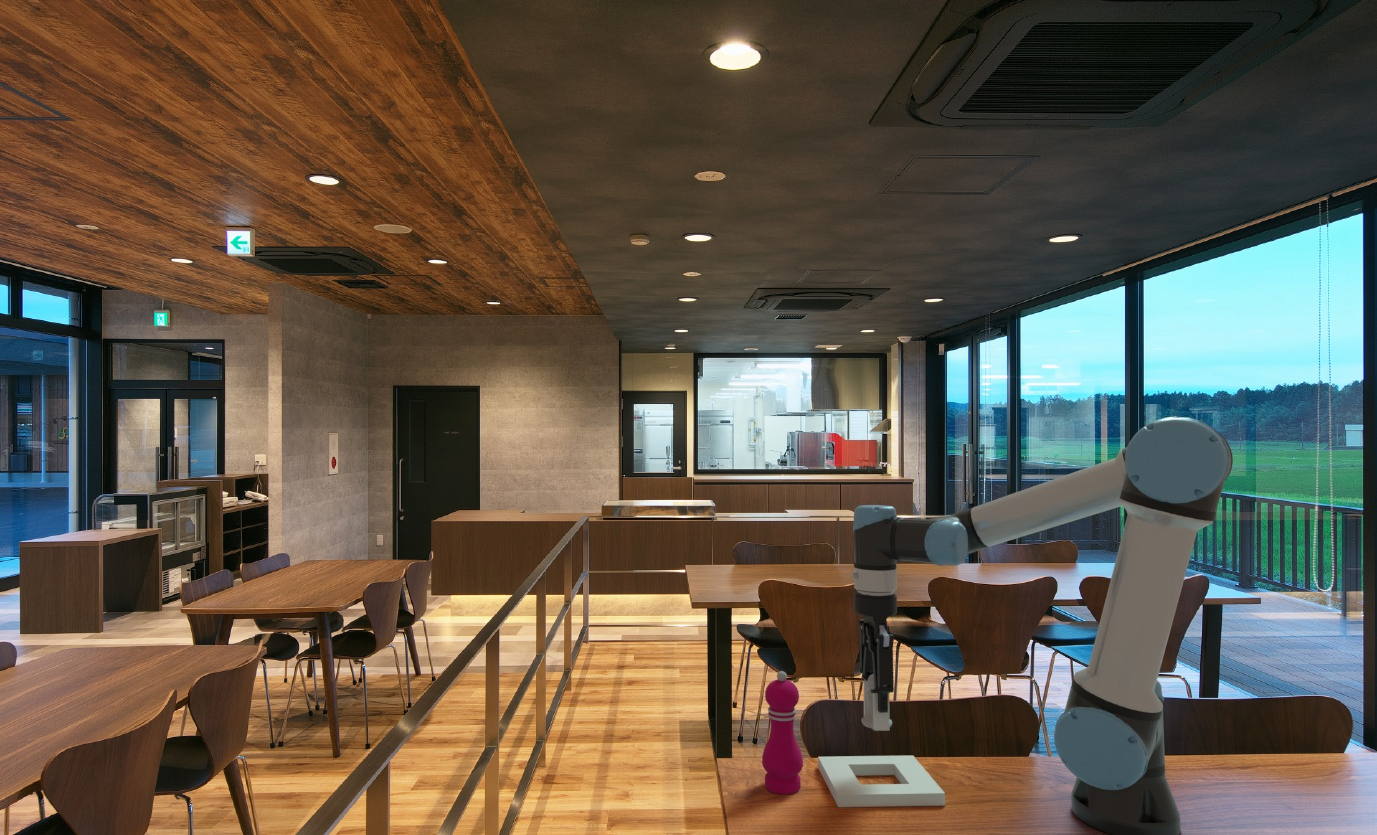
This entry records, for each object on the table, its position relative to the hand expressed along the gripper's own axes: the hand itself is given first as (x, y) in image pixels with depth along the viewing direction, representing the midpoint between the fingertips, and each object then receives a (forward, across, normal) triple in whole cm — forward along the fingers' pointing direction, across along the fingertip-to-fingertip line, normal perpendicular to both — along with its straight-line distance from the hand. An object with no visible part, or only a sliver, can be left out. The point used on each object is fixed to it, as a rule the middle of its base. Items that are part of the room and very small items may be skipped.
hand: (876, 723), depth 132 cm
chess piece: (0, 0, 0) cm, 0 cm away
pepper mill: (+11, 0, -17) cm, 20 cm away
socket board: (+11, 0, 0) cm, 11 cm away
